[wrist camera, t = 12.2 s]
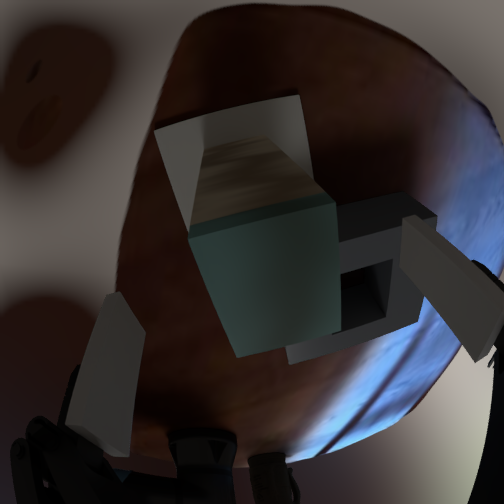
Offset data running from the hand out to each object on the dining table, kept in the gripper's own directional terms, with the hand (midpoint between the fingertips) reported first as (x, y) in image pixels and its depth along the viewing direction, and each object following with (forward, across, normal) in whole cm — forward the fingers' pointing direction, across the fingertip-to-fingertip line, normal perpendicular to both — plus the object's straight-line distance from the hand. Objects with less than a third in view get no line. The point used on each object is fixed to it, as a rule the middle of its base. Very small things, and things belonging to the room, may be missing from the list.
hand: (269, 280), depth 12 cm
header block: (+14, +8, -12) cm, 20 cm away
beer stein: (+15, -10, -76) cm, 79 cm away
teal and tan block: (+14, 0, 0) cm, 14 cm away
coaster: (+14, 0, 0) cm, 14 cm away
